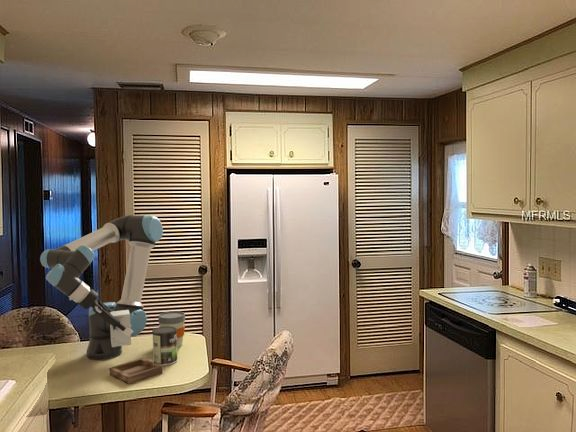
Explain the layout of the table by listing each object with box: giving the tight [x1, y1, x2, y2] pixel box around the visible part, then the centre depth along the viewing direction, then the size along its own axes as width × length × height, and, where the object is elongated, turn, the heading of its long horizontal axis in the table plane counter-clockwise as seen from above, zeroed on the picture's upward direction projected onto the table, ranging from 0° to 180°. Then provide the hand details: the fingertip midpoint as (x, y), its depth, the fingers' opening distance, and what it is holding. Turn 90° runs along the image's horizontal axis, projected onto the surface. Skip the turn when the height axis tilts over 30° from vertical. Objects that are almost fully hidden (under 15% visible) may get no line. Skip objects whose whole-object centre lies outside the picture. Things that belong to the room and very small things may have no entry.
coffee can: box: [151, 326, 179, 367], centre depth 214 cm, size 10×10×14 cm
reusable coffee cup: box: [157, 310, 186, 349], centre depth 234 cm, size 12×12×15 cm
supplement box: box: [110, 310, 132, 347], centre depth 196 cm, size 7×7×13 cm
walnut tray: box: [108, 357, 163, 386], centre depth 201 cm, size 15×15×3 cm
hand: (129, 331), depth 198 cm, fingers closed on supplement box, 7 cm apart
